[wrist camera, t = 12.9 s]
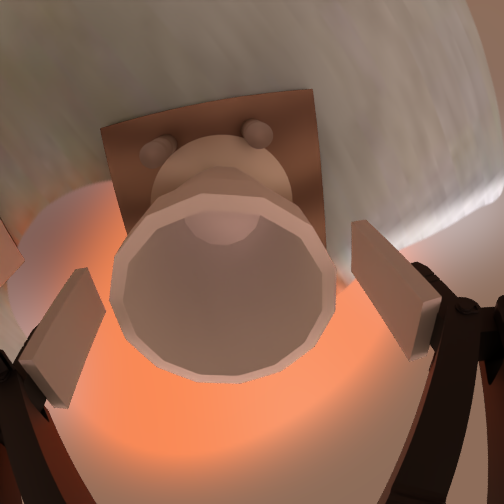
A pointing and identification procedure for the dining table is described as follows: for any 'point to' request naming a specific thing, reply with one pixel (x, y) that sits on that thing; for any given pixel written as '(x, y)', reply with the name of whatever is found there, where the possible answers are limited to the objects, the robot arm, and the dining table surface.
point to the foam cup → (223, 280)
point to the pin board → (220, 150)
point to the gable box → (8, 256)
